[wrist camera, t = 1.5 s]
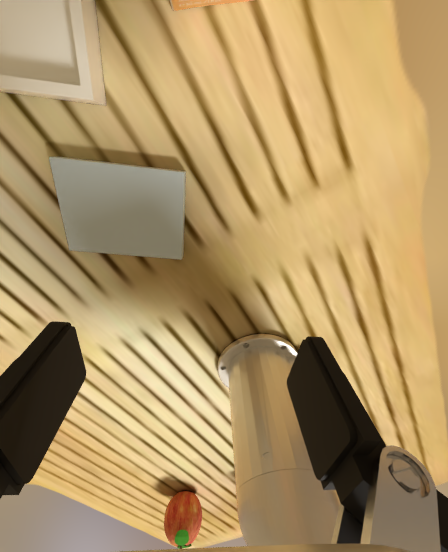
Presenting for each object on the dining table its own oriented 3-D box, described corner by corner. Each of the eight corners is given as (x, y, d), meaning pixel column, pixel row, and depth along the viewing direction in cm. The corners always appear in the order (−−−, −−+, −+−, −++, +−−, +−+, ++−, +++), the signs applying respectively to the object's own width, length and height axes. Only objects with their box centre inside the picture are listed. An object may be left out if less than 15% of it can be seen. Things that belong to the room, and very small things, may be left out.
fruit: (167, 501, 60) (159, 561, 51) (168, 484, 55) (159, 547, 46) (200, 501, 60) (198, 560, 52) (204, 484, 56) (202, 546, 47)
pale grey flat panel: (186, 170, 23) (184, 172, 22) (183, 252, 28) (181, 259, 26) (61, 156, 22) (48, 156, 21) (78, 243, 27) (69, 250, 25)
